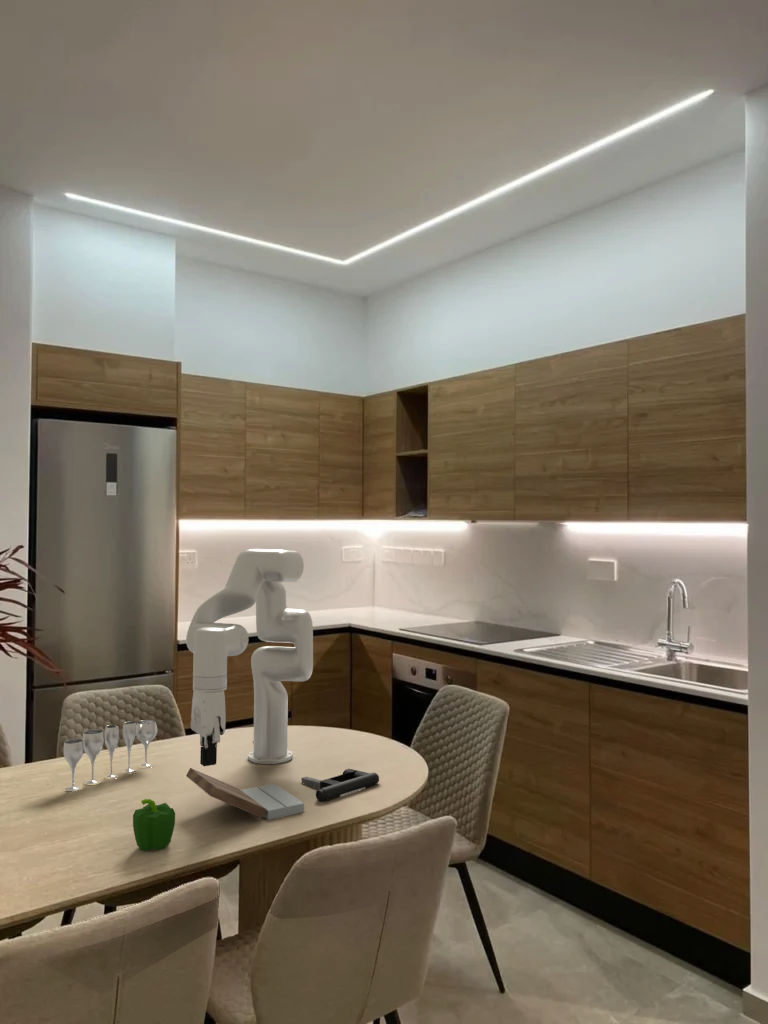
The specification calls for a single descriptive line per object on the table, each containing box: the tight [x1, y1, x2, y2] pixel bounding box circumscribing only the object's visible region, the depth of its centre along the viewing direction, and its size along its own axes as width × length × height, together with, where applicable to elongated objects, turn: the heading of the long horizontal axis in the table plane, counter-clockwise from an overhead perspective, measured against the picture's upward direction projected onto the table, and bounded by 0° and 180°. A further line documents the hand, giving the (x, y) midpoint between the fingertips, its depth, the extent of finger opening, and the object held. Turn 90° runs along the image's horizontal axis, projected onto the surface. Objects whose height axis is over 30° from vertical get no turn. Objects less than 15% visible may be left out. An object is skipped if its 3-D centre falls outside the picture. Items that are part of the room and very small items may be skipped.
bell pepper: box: [132, 798, 176, 852], centre depth 160 cm, size 8×8×10 cm
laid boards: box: [240, 783, 305, 821], centre depth 184 cm, size 16×9×2 cm, turn 33°
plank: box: [185, 767, 266, 818], centre depth 178 cm, size 16×14×2 cm
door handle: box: [300, 768, 380, 802], centre depth 198 cm, size 3×20×16 cm
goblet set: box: [62, 719, 158, 792], centre depth 204 cm, size 28×6×13 cm, turn 147°
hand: (208, 764), depth 175 cm, fingers closed
